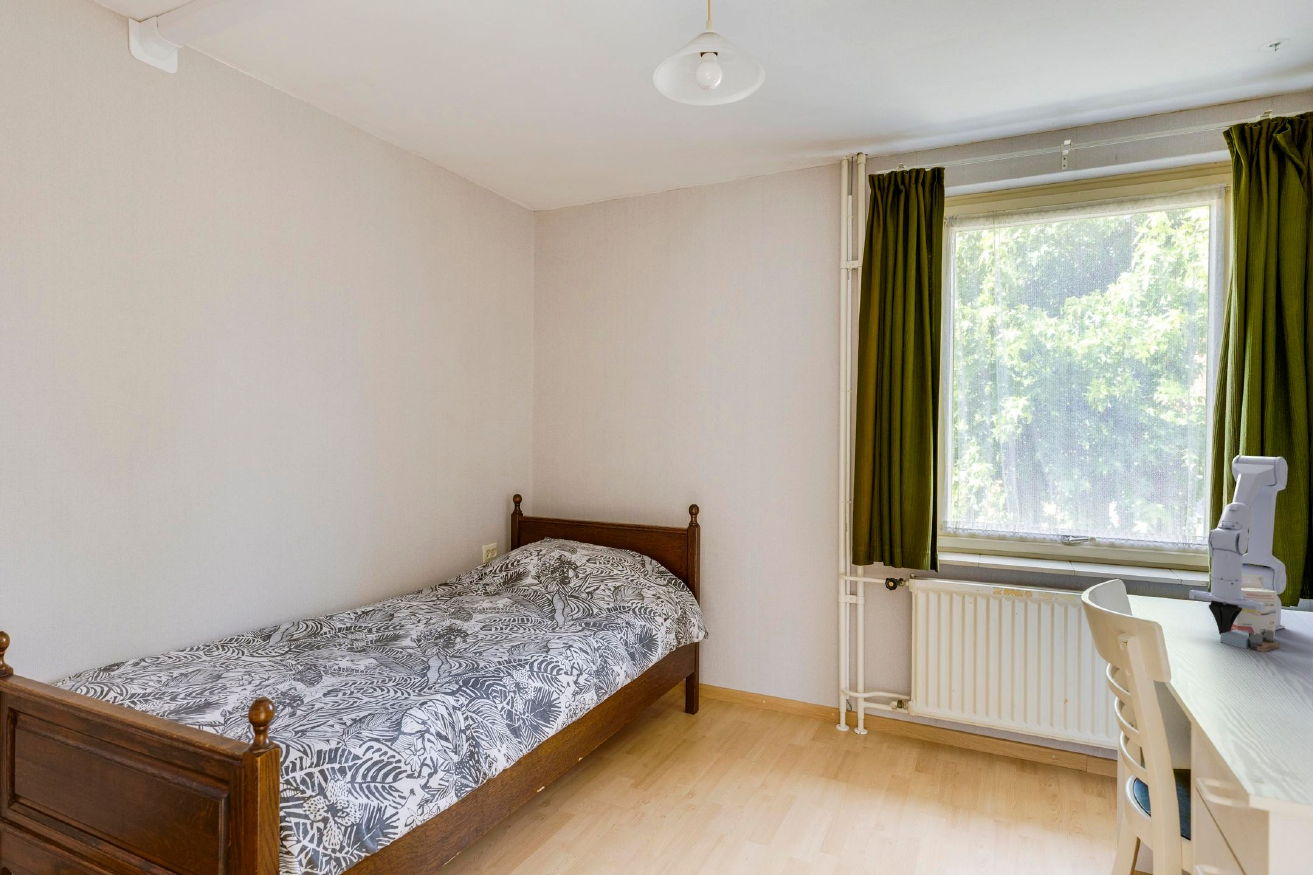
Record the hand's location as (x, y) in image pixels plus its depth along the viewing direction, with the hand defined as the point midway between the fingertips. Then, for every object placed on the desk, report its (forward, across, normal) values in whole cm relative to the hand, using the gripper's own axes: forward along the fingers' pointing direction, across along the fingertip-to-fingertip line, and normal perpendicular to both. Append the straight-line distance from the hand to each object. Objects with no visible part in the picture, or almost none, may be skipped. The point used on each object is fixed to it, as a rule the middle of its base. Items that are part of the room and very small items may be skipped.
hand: (1224, 634), depth 171 cm
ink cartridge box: (+1, +2, +9) cm, 9 cm away
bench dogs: (+1, +7, 0) cm, 7 cm away
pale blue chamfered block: (+2, +4, 0) cm, 4 cm away
